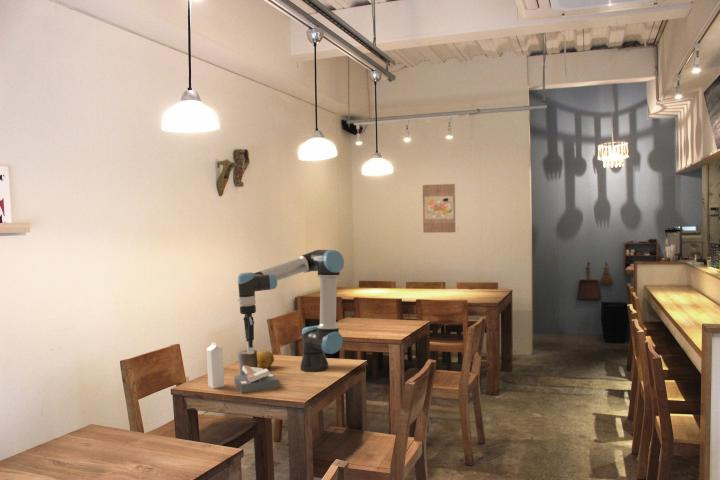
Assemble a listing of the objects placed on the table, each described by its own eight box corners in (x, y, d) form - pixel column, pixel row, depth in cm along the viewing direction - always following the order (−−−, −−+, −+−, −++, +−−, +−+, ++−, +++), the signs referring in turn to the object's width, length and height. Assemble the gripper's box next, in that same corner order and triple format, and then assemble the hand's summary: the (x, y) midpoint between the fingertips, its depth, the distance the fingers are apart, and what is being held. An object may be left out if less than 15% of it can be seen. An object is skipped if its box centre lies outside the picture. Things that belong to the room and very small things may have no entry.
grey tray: (269, 379, 307) (269, 369, 307) (279, 387, 290) (278, 377, 290) (234, 384, 301) (234, 374, 301) (241, 393, 283) (241, 382, 283)
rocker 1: (261, 372, 305) (262, 367, 305) (263, 374, 300) (264, 369, 301) (242, 369, 301) (243, 365, 301) (243, 371, 297) (244, 367, 297)
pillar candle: (261, 375, 315) (260, 347, 315) (251, 380, 306) (249, 351, 306) (246, 374, 319) (245, 346, 319) (235, 379, 311) (233, 350, 310)
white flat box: (267, 372, 294) (266, 367, 293) (270, 374, 289) (268, 369, 289) (248, 380, 290) (246, 375, 290) (250, 382, 285) (248, 378, 285)
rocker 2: (264, 374, 299) (264, 370, 299) (266, 376, 295) (267, 372, 295) (244, 372, 296) (245, 367, 296) (246, 374, 291) (247, 369, 291)
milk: (213, 388, 294) (210, 344, 293) (208, 386, 299) (205, 342, 298) (224, 386, 297) (222, 342, 297) (219, 384, 302) (217, 340, 302)
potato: (253, 371, 325) (252, 353, 325) (257, 366, 338) (256, 348, 337) (272, 370, 325) (271, 352, 325) (275, 365, 338) (274, 347, 337)
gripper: (237, 304, 292) (240, 352, 293) (242, 307, 280) (245, 357, 281) (252, 302, 295) (255, 350, 295) (258, 305, 283) (261, 355, 283)
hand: (250, 353), depth 288 cm, fingers closed
